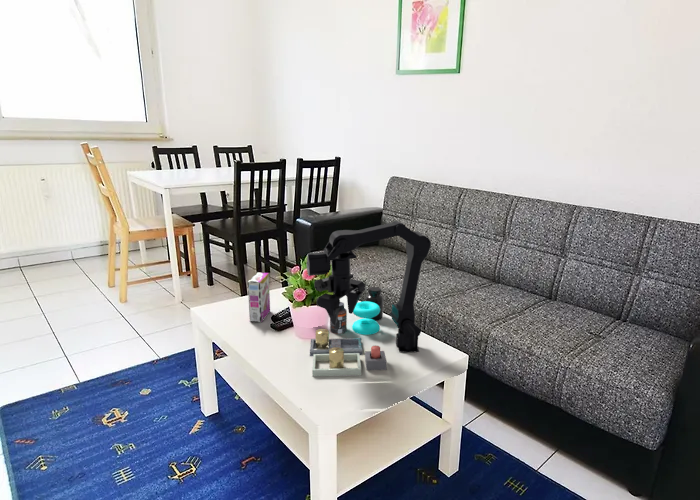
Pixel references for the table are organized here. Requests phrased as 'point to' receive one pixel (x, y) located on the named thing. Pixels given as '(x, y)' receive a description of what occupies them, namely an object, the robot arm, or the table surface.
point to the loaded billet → (322, 339)
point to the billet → (336, 358)
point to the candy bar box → (259, 297)
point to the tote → (337, 370)
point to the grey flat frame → (345, 343)
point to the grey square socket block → (375, 361)
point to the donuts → (366, 311)
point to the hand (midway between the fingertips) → (342, 318)
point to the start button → (375, 352)
